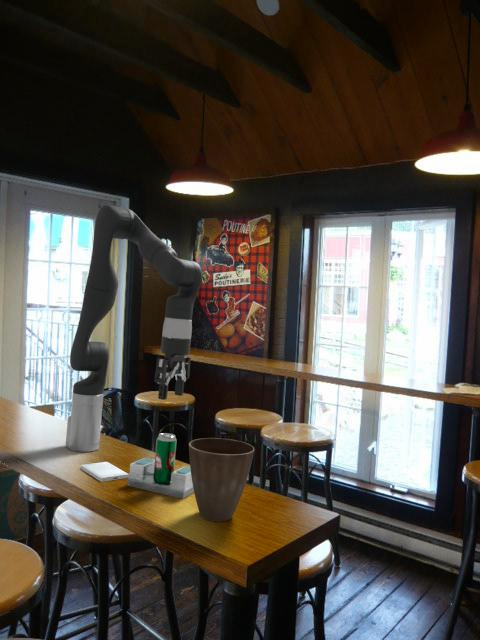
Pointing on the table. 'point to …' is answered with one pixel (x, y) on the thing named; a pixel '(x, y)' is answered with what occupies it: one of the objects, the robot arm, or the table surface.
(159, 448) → the soda can
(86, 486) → the table surface
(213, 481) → the plant pot
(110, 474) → the hard drive
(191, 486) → the grey u-shaped block
